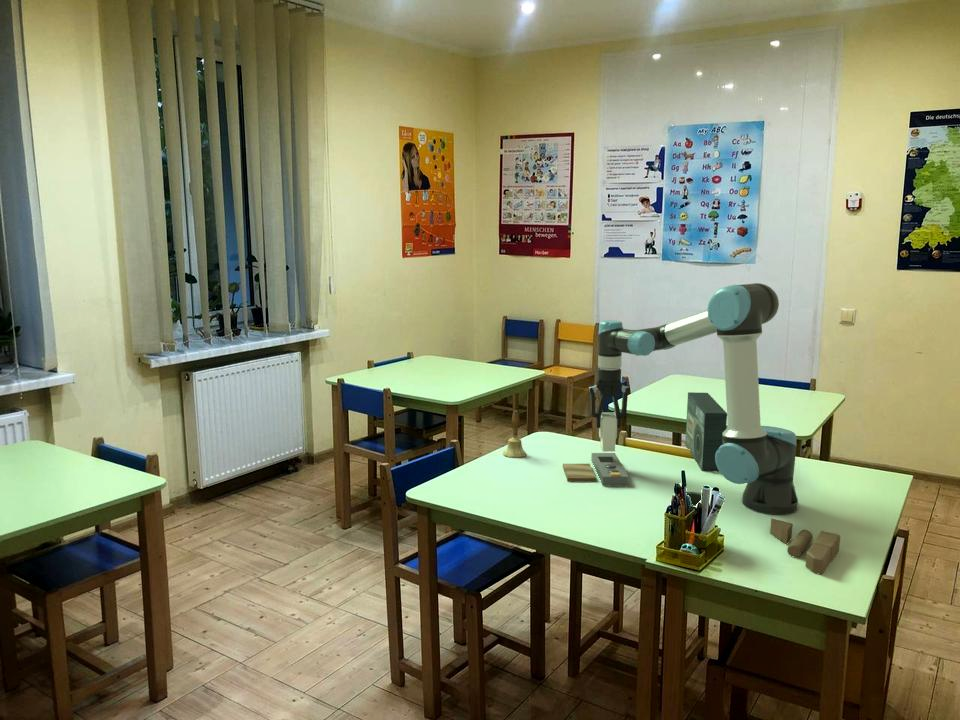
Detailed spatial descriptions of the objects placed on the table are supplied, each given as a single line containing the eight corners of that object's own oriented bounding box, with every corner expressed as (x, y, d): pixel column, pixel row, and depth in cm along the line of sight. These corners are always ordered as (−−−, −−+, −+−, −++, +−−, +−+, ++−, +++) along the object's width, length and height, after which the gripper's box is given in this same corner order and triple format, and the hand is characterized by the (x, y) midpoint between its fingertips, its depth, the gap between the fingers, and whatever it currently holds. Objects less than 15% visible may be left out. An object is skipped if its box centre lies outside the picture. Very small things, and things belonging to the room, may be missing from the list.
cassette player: (685, 445, 275) (688, 392, 271) (704, 445, 274) (707, 392, 271) (701, 471, 246) (705, 412, 243) (723, 472, 246) (727, 413, 242)
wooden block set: (842, 529, 188) (824, 555, 173) (839, 550, 189) (822, 577, 175) (772, 513, 198) (751, 536, 183) (771, 533, 199) (749, 557, 185)
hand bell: (520, 449, 270) (520, 406, 267) (530, 456, 262) (530, 412, 259) (499, 452, 267) (499, 409, 264) (508, 459, 259) (508, 414, 256)
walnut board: (595, 481, 237) (596, 477, 237) (567, 481, 237) (567, 477, 237) (589, 467, 251) (589, 463, 250) (562, 467, 251) (562, 463, 250)
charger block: (614, 451, 246) (615, 416, 243) (602, 451, 246) (603, 416, 243) (612, 446, 251) (613, 412, 248) (600, 447, 251) (601, 412, 248)
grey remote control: (628, 485, 233) (628, 474, 232) (602, 485, 233) (603, 474, 232) (614, 461, 256) (614, 450, 256) (591, 461, 256) (591, 450, 256)
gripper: (633, 365, 247) (631, 433, 251) (581, 366, 247) (580, 434, 251) (638, 370, 239) (635, 440, 244) (584, 370, 239) (583, 440, 244)
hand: (607, 437), depth 247 cm, fingers closed on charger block, 4 cm apart
